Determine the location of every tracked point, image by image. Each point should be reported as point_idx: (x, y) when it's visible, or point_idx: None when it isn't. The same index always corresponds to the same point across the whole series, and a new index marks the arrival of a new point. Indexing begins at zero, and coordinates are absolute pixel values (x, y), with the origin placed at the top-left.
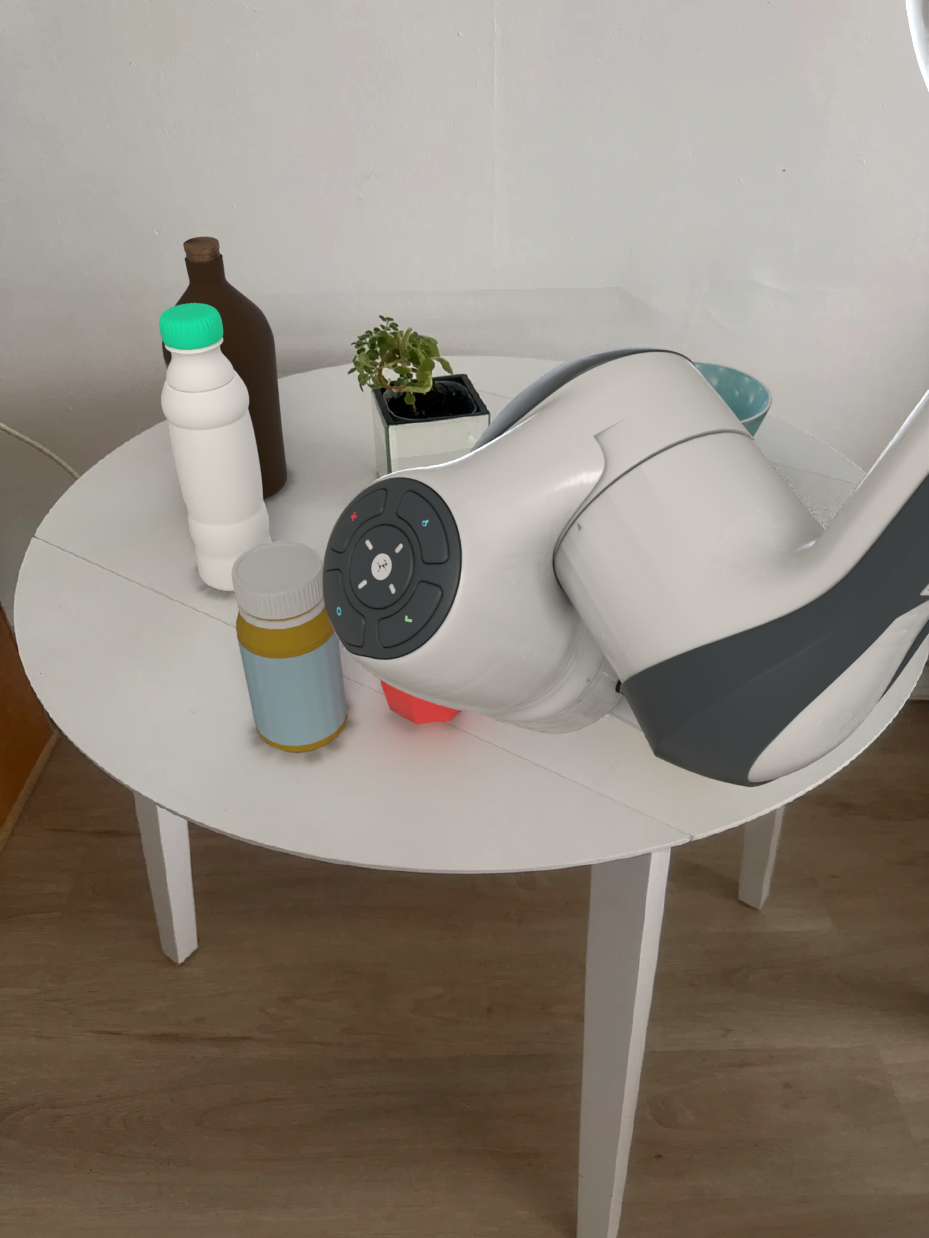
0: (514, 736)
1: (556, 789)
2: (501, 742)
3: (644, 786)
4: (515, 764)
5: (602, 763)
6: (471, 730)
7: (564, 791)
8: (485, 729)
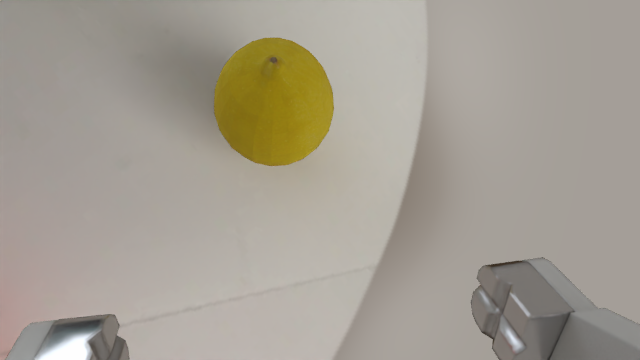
0: (85, 299)
1: (206, 334)
2: None
3: (294, 238)
4: None
5: (225, 246)
6: None
7: (217, 328)
8: None
